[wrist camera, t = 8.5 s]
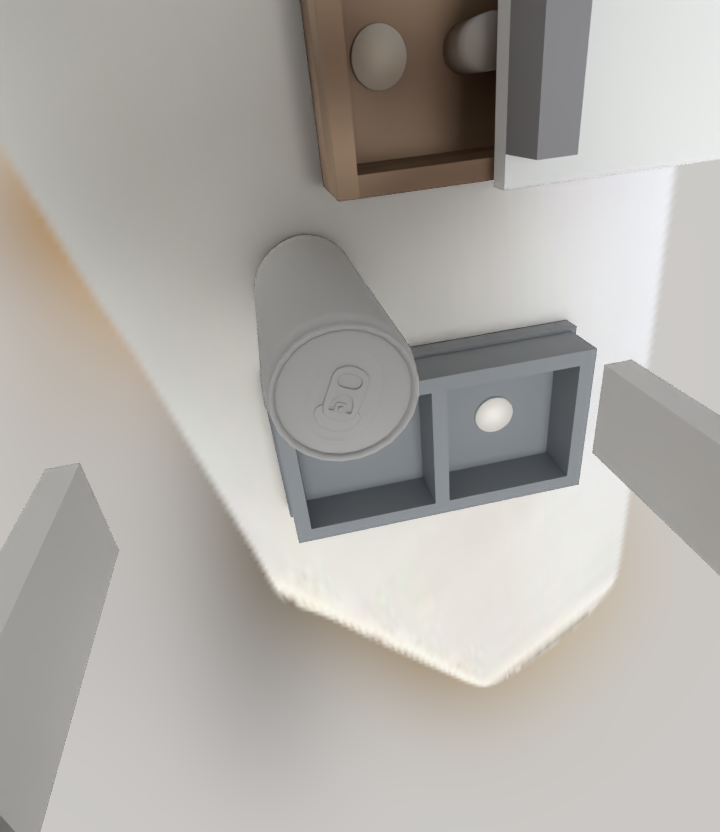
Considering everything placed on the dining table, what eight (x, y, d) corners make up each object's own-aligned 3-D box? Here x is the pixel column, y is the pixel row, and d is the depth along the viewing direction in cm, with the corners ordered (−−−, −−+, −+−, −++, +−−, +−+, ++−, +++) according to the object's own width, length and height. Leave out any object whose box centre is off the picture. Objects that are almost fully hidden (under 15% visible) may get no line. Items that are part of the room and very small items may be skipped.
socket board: (260, 373, 28) (262, 405, 25) (567, 320, 30) (603, 344, 27) (289, 506, 33) (294, 547, 30) (553, 453, 34) (582, 486, 31)
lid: (501, -154, 16) (560, -211, 13) (785, -174, 17) (896, -231, 14) (493, 186, 21) (534, 200, 18) (714, 155, 22) (787, 162, 19)
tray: (289, -81, 19) (301, -127, 16) (524, -100, 20) (590, -148, 17) (323, 186, 24) (338, 201, 20) (514, 160, 25) (562, 169, 21)
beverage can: (243, 316, 26) (244, 450, 16) (268, 217, 24) (288, 299, 14) (336, 340, 28) (391, 476, 18) (367, 249, 26) (449, 343, 16)
